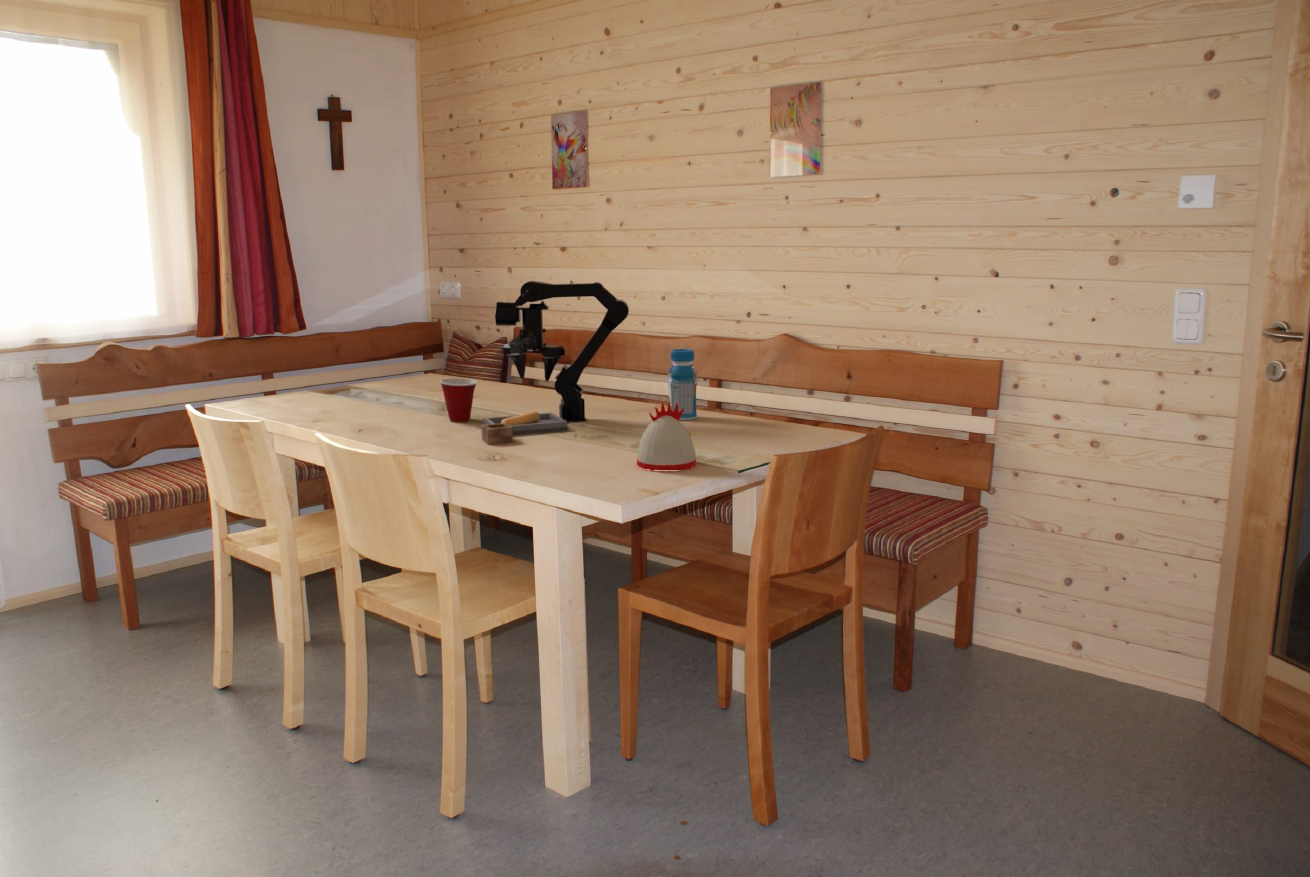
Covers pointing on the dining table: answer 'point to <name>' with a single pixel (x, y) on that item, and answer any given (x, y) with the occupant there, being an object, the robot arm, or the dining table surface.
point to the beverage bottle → (683, 383)
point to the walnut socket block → (497, 433)
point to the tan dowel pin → (522, 419)
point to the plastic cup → (458, 397)
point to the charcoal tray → (533, 424)
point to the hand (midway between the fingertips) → (534, 379)
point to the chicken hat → (666, 443)
